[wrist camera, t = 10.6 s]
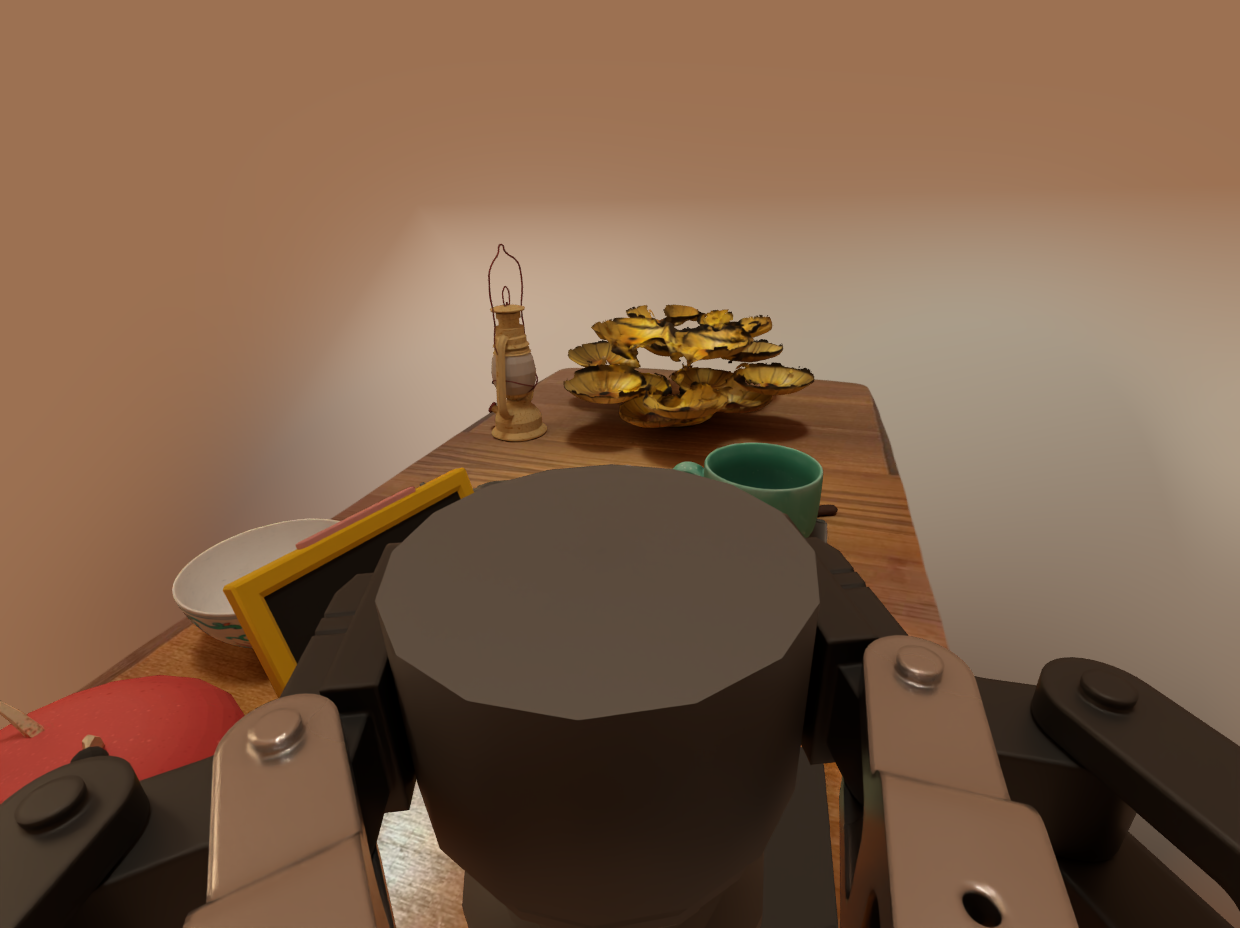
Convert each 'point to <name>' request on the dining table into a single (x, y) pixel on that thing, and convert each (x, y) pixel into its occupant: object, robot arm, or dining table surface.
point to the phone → (801, 858)
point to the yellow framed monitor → (327, 572)
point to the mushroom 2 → (117, 728)
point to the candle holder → (604, 693)
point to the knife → (822, 522)
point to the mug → (768, 477)
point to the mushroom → (697, 385)
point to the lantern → (513, 375)
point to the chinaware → (234, 574)
